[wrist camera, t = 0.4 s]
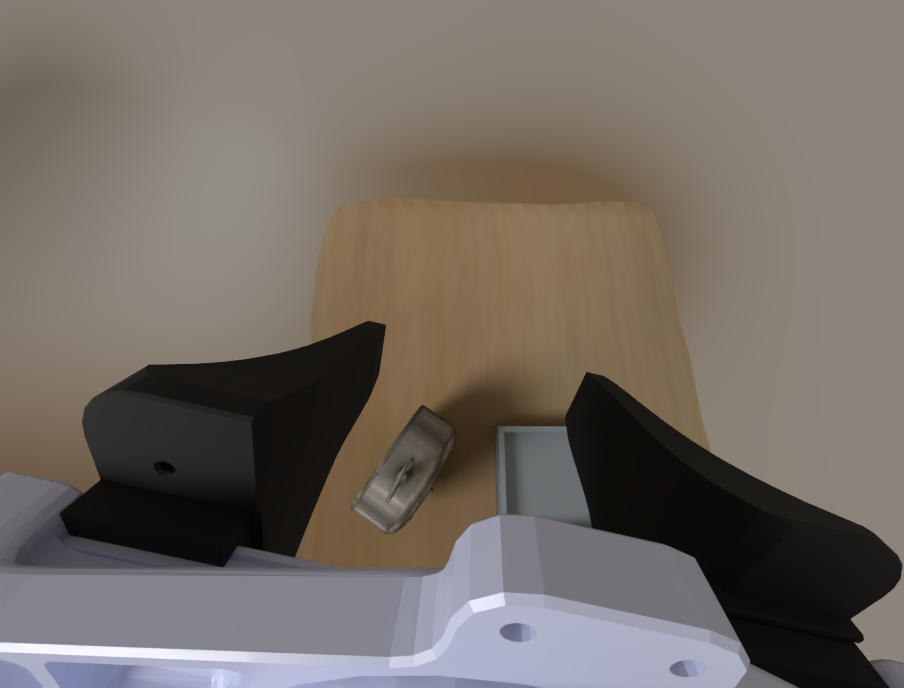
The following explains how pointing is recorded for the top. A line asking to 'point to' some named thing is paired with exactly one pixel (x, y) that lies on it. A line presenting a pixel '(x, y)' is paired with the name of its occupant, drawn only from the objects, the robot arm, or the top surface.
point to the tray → (538, 474)
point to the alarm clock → (406, 472)
